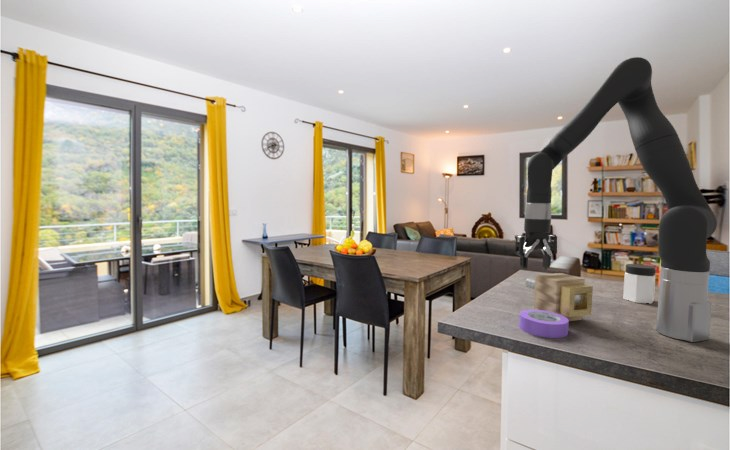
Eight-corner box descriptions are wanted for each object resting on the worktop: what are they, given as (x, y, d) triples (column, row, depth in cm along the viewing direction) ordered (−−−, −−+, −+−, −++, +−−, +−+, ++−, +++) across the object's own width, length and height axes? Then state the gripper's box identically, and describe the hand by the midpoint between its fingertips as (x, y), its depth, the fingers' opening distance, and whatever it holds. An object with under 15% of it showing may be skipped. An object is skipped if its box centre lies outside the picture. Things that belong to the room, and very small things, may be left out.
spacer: (591, 314, 98) (592, 286, 98) (568, 317, 96) (570, 288, 95) (581, 311, 101) (583, 283, 100) (559, 313, 99) (560, 285, 98)
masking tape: (569, 328, 96) (570, 314, 95) (565, 342, 86) (566, 327, 86) (523, 319, 102) (524, 306, 102) (515, 332, 93) (515, 317, 92)
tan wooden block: (582, 319, 102) (584, 278, 101) (554, 322, 99) (556, 280, 98) (560, 311, 110) (561, 273, 109) (533, 313, 107) (535, 274, 106)
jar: (651, 305, 116) (653, 269, 115) (621, 300, 122) (623, 266, 121) (655, 300, 122) (657, 266, 121) (626, 295, 128) (628, 262, 127)
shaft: (583, 303, 98) (583, 292, 97) (574, 303, 97) (575, 293, 97) (532, 286, 116) (532, 277, 116) (524, 287, 115) (525, 278, 115)
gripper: (527, 218, 106) (524, 271, 107) (565, 218, 110) (562, 269, 111) (510, 216, 113) (508, 266, 114) (546, 216, 117) (544, 264, 118)
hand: (535, 267), depth 113 cm, fingers open, 8 cm apart
